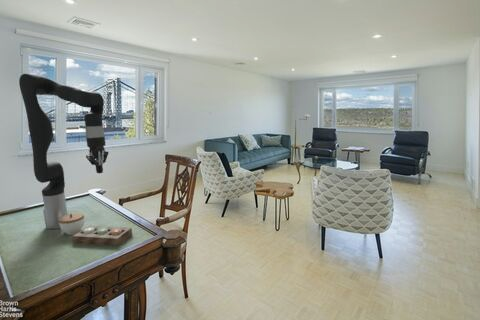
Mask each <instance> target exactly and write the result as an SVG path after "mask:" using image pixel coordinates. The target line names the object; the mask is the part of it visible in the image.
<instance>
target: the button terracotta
mask: <svg viewBox="0 0 480 320" xmlns="http://www.w3.org/2000/svg"><path fill="white" fill-rule="evenodd" d="M121 233H122V230H121V229H115V230H113V231H111V235H120V234H121Z"/></svg>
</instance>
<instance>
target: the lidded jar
mask: <svg viewBox="0 0 480 320" xmlns="http://www.w3.org/2000/svg"><path fill="white" fill-rule="evenodd" d="M67 214H68V213H67ZM58 222H59V226H60V228H59V229H60V230H61V232H63V233H64V234H66V235H67V236H68V235H71V236H73V235H75V234H76V233H78V232H80V231H82V230H83V229H84V225H85V214H84V213H82V212H74V213H73V212H72V213H69V214H68V215H65V216H62V217H60V218H59V219H58Z"/></svg>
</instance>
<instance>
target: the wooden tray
mask: <svg viewBox="0 0 480 320" xmlns="http://www.w3.org/2000/svg"><path fill="white" fill-rule="evenodd" d="M87 228H94V232H92V233H91V234H84V232H83V230H84V229H87ZM103 228H107V229H108V232H107V233H106V234H104V235H101V234H97V231H98V230H99V229H103ZM115 229H121V230H122V233H121V234H120V235H111V231H113V230H115ZM132 235H133V229H132V227H127V226H126V227H122V226H119V227H118V226H103V225H102V226H101V225H89V226H87V227H85V228H82V229H81V231H80V232H78V233H76V234H72V235H71V236H72V243H73V244H81V245H83V244H85V245H98V246H99V245H100V246H101V245H102V246H112V247H113V246H117V247H119V246H120V245H121V244H123V243H124V242H125V241H127V239H129V238H130V237H132Z"/></svg>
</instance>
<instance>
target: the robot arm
mask: <svg viewBox="0 0 480 320" xmlns="http://www.w3.org/2000/svg"><path fill="white" fill-rule="evenodd" d="M18 82H19V84H18V86H19V89H20V93H21V96H22V100H23V104H24V107H25V113H26V117H27V123H28V125H27V126H28V131H29V137H30V141H31V142H30V143H31V150H32V156H33V157H32V162H33V163H32V165H33V173H34V176H35V179H36V180H37V181H38V182H39V183H42V184H43V183H48V182H49V183H48V184H47V185H46V186H44V188H43V189H42V190H41V195H42V201H43V207H44V209H43V216H44V217H43V218H44V223H45V225H44V226H45V228H47V229H49V230H57V229H60V226H59V222H58V219H59V218H60V217H62V216H65V215H68V209H67V202H66V195H65V184H66V183H65V171H64V167H63V166H62V164H61V163H60V162H58V161H48V160H47V155H48V151H49V148H50V146H51V144H52V141H53V139H54V130H53V129H54V128H53V124H52V121H51V119H50V118H49V116H48V114H46V113H45V111H44V110H43V109H42V107H41V106H40V103H39V100H38V95H39V96H42V95H44V96H45V95H52V96H56V97H58V98H59V99H61V100H63V101H65V102H68V103H69V102H70V103H73V104H75V105H77V106H78V107H82V108H87V109H88V108H89V109H90V110H89V112H88V113H85V114H84V126H85V139H86V147H88V148H89V150H88V154H86V155H85V158H86V159H87V161H89V163H90V164H91V165H92V166H95V171H96V173H97V174H103V173H104V169H103V165H104V164H105V163H106V162H107V159H108V155H109V151H106V149H105V146H106V144H107V143H106V138H105V129H104V125H103V118H102V117H103V113H104V107H105V106H104V105H105V102H104V100H105V99H104V98H103V95H102V94H101V93H99V92H97V91H90V90H89V91H88V90H87V91H85V90H82V89H81V88H78V87H75V86H71V85H67V84H63V83H59V82H57V81H54V80H53V79H50V78H48V77H47V76H44V75H41V74H32V73H22V74H21V75H20V77H19V80H18Z"/></svg>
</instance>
